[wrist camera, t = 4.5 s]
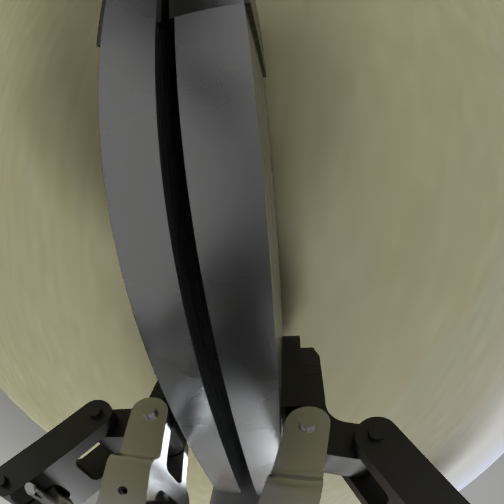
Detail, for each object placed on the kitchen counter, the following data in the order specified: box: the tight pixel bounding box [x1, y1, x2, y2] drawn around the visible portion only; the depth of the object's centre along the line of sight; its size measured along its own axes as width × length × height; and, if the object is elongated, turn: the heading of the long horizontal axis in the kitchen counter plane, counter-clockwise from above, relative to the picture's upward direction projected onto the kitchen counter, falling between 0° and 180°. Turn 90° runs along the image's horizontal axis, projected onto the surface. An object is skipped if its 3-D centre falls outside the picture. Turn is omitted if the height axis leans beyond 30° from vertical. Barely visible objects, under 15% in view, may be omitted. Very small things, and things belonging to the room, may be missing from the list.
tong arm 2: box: [97, 0, 246, 494], centre depth 8 cm, size 19×1×5 cm, turn 4°
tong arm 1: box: [169, 0, 283, 496], centre depth 8 cm, size 19×1×5 cm, turn 5°
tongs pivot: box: [210, 463, 260, 504], centre depth 12 cm, size 5×5×6 cm
